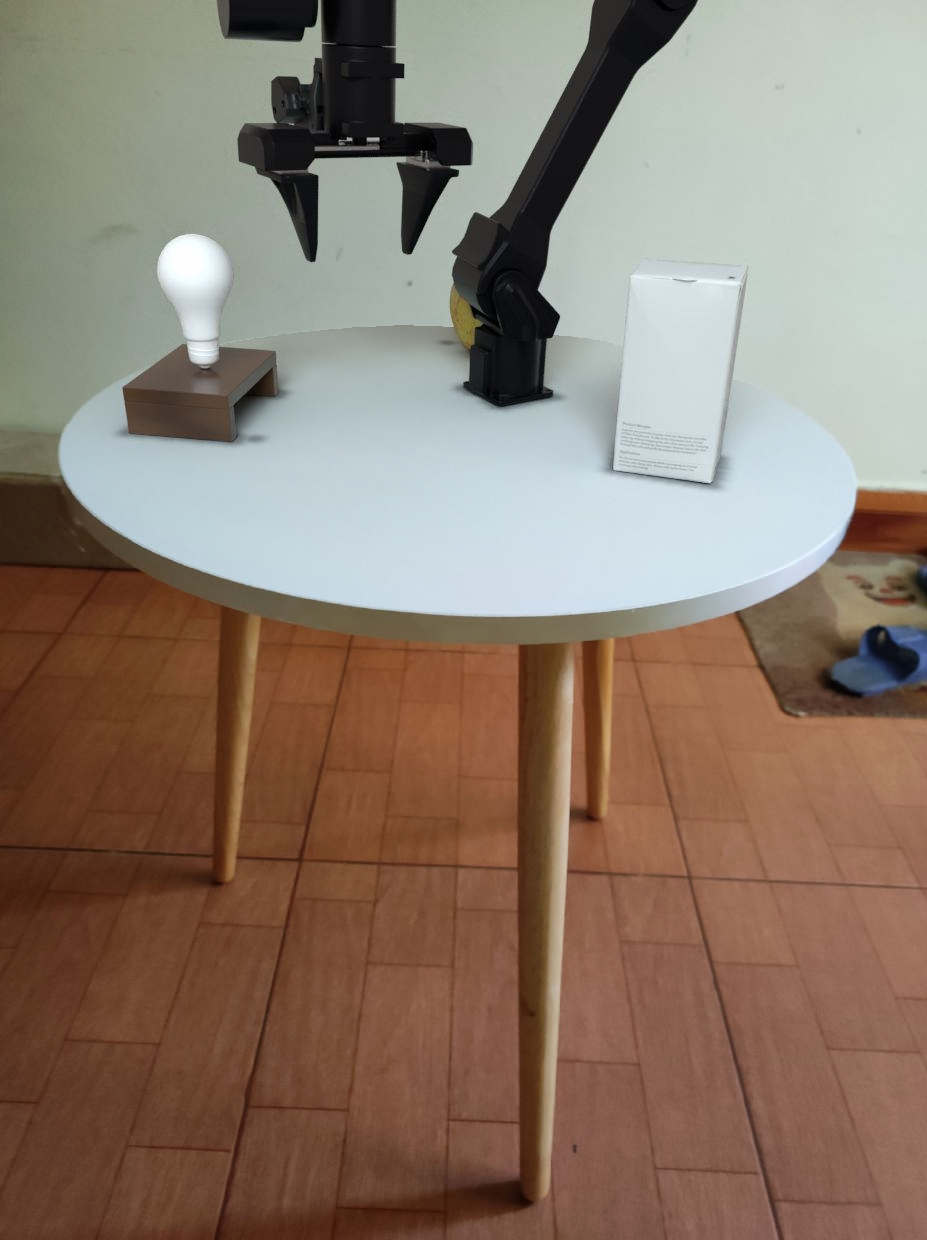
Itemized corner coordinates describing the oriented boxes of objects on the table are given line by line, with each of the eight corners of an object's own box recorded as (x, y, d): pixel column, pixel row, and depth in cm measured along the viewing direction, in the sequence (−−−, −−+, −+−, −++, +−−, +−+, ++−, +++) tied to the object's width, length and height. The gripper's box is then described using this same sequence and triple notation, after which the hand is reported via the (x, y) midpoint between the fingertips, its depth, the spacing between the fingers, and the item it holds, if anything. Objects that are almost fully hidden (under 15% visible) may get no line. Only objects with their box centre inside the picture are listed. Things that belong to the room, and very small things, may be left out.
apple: (545, 361, 105) (552, 262, 100) (465, 367, 102) (468, 266, 97) (511, 337, 112) (516, 244, 107) (436, 343, 109) (437, 247, 104)
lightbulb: (246, 358, 89) (236, 228, 83) (234, 379, 84) (222, 242, 78) (178, 356, 89) (163, 226, 83) (161, 377, 84) (143, 240, 78)
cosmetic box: (721, 458, 83) (755, 264, 75) (711, 488, 78) (747, 282, 69) (622, 443, 85) (645, 253, 77) (606, 471, 80) (629, 270, 72)
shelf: (278, 392, 94) (276, 350, 92) (231, 442, 83) (227, 395, 80) (187, 385, 95) (182, 343, 92) (128, 433, 84) (121, 386, 81)
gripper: (410, 44, 87) (406, 233, 95) (203, 36, 77) (219, 246, 86) (481, 51, 79) (471, 257, 87) (261, 42, 70) (273, 273, 78)
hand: (360, 257), depth 84 cm, fingers open, 9 cm apart
